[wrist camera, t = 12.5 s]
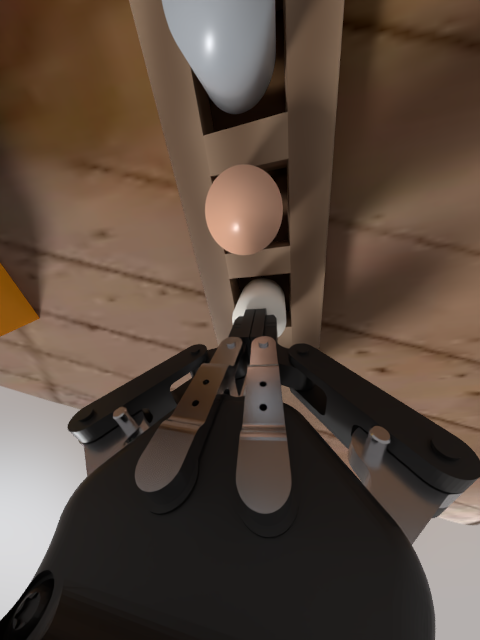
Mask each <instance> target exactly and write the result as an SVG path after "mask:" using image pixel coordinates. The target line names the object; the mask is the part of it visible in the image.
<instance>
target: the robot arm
mask: <svg viewBox="0 0 480 640" xmlns="http://www.w3.org/2000/svg"><path fill="white" fill-rule="evenodd" d="M189 372H190V373H191V376H192V378H191V379H190V380H188V381H187V382H185V383H184V384H182V385H181V386H179V387H178V388H177V389H175V390H173V391H171V392H170V387H171V385H172V384H173V383H174V382H175V381H177V380H179V379H180V378H182V377H183V376H185V375H186V374H188V373H189ZM281 385H284V386H287V387H290V391H291V392H292V393H293V394H294V395H295V396H296V397H297V398H298V399H299V400H300V401H301V402H302V403H303V404H304V405H305V406H306V407H307V408H308V409H309V410H310V411H311V412H312V413H313V414H314V415H315V416H316V417H317V418H318V419H319V420H320V421H321V422H322V423H323V424H324V425H325V426H326V427H327V428H328V429H329V430H330V431H331V432H332V433H333V434H334V435H335V436H336V437H337V438H338V439H339V440H340V441H341V442H342V443H343V444H344V445H345V446H346V447H347V448H348V449H349V450H348V460H349V463H350V465H351V467H352V469H353V470H354V472H355V473H356V474H357V476H358V477H359V478H360V480H361V481H360V480H359V479H358V478H357V477H356V476H355V474H354V473H353V472H352V471H351V470H350V469H349V468H348V467H347V465H346V464H345V463H344V462H343V461H342V460H341V459H340V457H339V456H338V455H337V454H336V453H335V452H334V451H333V449H332V448H331V447H330V446H329V445H328V444H327V443H326V441H325V440H324V439H323V438H322V437H321V436H320V435H319V433H318V432H317V431H316V430H315V429H314V428H313V427H312V425H311V424H310V423H309V422H308V421H307V420H306V419H305V418H304V416H303V415H302V414H301V413H299V412H298V411H297V410H296V409H294V408H293V407H291V406H289V405H288V404H285V403H283V401H282V392H281ZM245 387H246V390H245ZM244 390H245V396H243V394H244ZM68 430H69V431H70V432H71V433H72V434H73V435H74V436H75V437H76V438H77V439H78V440H79V442H80V444H82V445H83V446H84V451H85V459H86V469H87V478H86V479H85V480H84V481H83V482H82V483H81V484H80V485H79V487H78V488H77V489H76V490H75V492H74V493H73V495H72V496H71V498H70V499H69V501H68V503H67V505H66V506H65V508H64V510H63V513H62V515H61V517H60V520H59V523H58V525H57V528H56V531H55V534H54V536H53V539H52V541H51V544H50V546H49V548H48V550H47V553H46V555H45V557H44V559H43V561H42V563H41V565H40V567H39V568H38V571H37V572H36V574H35V576H34V578H33V580H32V582H31V583H30V584H29V586H28V587H27V589H26V590H25V592H24V593H23V594H22V596H21V597H20V599H19V600H18V601H17V602H16V604H15V605H14V606H13V608H12V609H11V610H10V611H9V612H8V613H7V614H6V615H5V616H4V617H3V619H2V620H1V621H0V640H435V614H434V606H433V600H432V596H431V592H430V588H429V584H428V581H427V578H426V575H425V573H424V570H423V568H422V565H421V563H420V561H419V559H418V556H417V554H416V552H415V551H414V549H413V547H412V544H413V542H414V541H415V540H416V539H417V537H418V536H419V534H420V533H421V532H422V530H423V529H424V528H425V526H426V525H427V523H428V522H429V521H430V519H431V518H435V517H437V516H439V515H440V514H441V513H442V512H443V511H444V510H445V509H446V508H447V507H448V506H449V505H450V504H452V503H453V502H454V501H455V500H456V499H457V498H458V497H459V496H460V495H461V494H462V493H463V492H464V491H465V490H466V489H467V488H468V487H470V486H471V485H472V484H473V483H474V482H475V481H476V480H477V479H478V478H479V477H480V460H479V458H478V456H477V455H476V454H475V452H474V451H473V450H472V449H471V448H470V447H469V446H468V445H467V444H466V443H464V442H463V441H462V440H461V439H459V438H458V437H456V436H455V435H453V434H451V433H450V432H448V431H447V430H445V429H443V428H442V427H440V426H439V425H437V424H435V423H434V422H432V421H431V420H429V419H428V418H426V417H424V416H423V415H421V414H420V413H418V412H416V411H415V410H413V409H412V408H410V407H408V406H407V405H405V404H404V403H402V402H400V401H399V400H397V399H396V398H394V397H392V396H391V395H389V394H388V393H386V392H385V391H383V390H381V389H380V388H378V387H377V386H375V385H373V384H372V383H370V382H369V381H367V380H365V379H364V378H362V377H361V376H359V375H357V374H356V373H354V372H353V371H351V370H349V369H348V368H346V367H345V366H343V365H342V364H340V363H338V362H337V361H335V360H334V359H332V358H330V357H329V356H327V355H326V354H324V353H322V352H321V351H319V350H318V349H316V348H314V347H313V346H311V345H309V344H305V343H298V344H294V345H292V346H291V347H290V348H285V347H282V346H281V345H279V344H278V333H277V318H276V317H275V316H274V315H267V310H266V308H263V309H246V310H245V313H244V316H239V317H238V318H237V319H235V321H234V323H233V326H232V329H231V331H230V334H229V337H228V338H226V339H224V340H223V341H222V342H221V343H220V345H219V346H218V348H215V349H211V350H207V348H206V346H205V345H202V344H197V345H193V346H191V347H189V348H187V349H185V350H184V351H182V352H180V353H178V354H177V355H175V356H173V357H171V358H170V359H168V360H166V361H164V362H163V363H161V364H159V365H157V366H156V367H154V368H152V369H150V370H149V371H147V372H145V373H143V374H142V375H140V376H138V377H136V378H135V379H133V380H131V381H129V382H128V383H126V384H124V385H122V386H121V387H119V388H117V389H115V390H114V391H112V392H110V393H108V394H107V395H105V396H103V397H101V398H100V399H98V400H96V401H94V402H93V403H91V404H89V405H87V406H86V407H84V408H82V409H81V410H80V411H78V412H77V413H76V414H75V415H74V416H73V417H72V419H71V420H70V422H69V424H68Z"/></svg>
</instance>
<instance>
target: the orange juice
mask: <svg viewBox="0 0 480 640" xmlns="http://www.w3.org/2000/svg"><path fill="white" fill-rule="evenodd" d="M37 319H39V316H38V315H37V314H36V312H35V311H34V309H33V308H32V307H31V305H30V304H29V302H28V301H27V300H26V298H25V297H24V295H23V294H22V293H21V291H20V290H19V288H18V287H17V286H16V284H15V283H14V281H13V280H12V278H11V277H10V276H9V274H8V273H7V271H6V270H5V269H4V267H3V266H2V264H1V263H0V336H2V335H5V334H7V333H9V332H11V331H13V330H15V329H18V328H20V327H22V326H24V325H26V324H28V323H31V322H33V321H35V320H37Z"/></svg>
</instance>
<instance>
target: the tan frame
mask: <svg viewBox="0 0 480 640" xmlns="http://www.w3.org/2000/svg"><path fill="white" fill-rule="evenodd" d="M129 2H130V6H131V10H132V14H133V18H134V21H135V25H136V29H137V33H138V37H139V41H140V45H141V49H142V52H143V56H144V60H145V64H146V68H147V72H148V76H149V79H150V83H151V87H152V91H153V95H154V99H155V103H156V107H157V110H158V114H159V118H160V122H161V126H162V130H163V134H164V137H165V141H166V145H167V149H168V153H169V157H170V161H171V165H172V168H173V172H174V176H175V180H176V184H177V188H178V192H179V195H180V199H181V203H182V207H183V211H184V215H185V219H186V223H187V226H188V230H189V234H190V238H191V242H192V246H193V250H194V253H195V257H196V261H197V265H198V269H199V273H200V277H201V281H202V284H203V288H204V292H205V296H206V300H207V304H208V308H209V311H210V315H211V319H212V323H213V327H214V331H215V335H216V339H217V342H218V346H219V345H220V343H221V342H222V341H223V340H224V339H226V338H228V337H229V334H230V331H231V329H232V326H233V323H232V315H233V311H234V309H235V307H236V304H237V302H238V300H239V298H240V290H239V284H238V278H243V277H254V276H264V275H275V274H285V273H289V291H290V312H286V327H285V329H284V331H283V333H282V334H281V335H280V336H279V337H278V344H279V345H281V346H282V347H285V348H290V347H291V346H292V345H294V344H298V343H305V344H309V345H311V346H313V347H314V348H319V347H320V333H321V319H322V305H323V291H324V277H325V263H326V249H327V235H328V222H329V208H330V194H331V180H332V166H333V152H334V138H335V124H336V110H337V96H338V82H339V68H340V54H341V40H342V26H343V12H344V0H275V12H276V11H279V10H281V9H283V25H284V69H285V113H281V114H278V115H274V116H271V117H267V118H264V119H260V120H257V121H253V122H249V123H246V124H242V125H239V126H235V127H232V128H228V129H225V130H221V131H218V132H214V128H213V122H212V116H211V110H210V103H209V97H208V94H207V92H206V90H205V89H204V87H203V86H202V84H201V82H200V81H199V79H198V78H197V76H196V74H195V73H194V71H193V69H192V68H191V66H190V65H189V63H188V61H187V60H186V58H185V57H184V55H183V53H182V52H181V50H180V49H179V47H178V45H177V44H176V42H175V40H174V38H173V36H172V33H171V31H170V29H169V26H168V23H167V20H166V17H165V13H164V9H163V5H162V0H129ZM241 164H247V165H253V166H256V167H258V168H260V169H262V170H264V171H265V172H268V171H273V170H277V169H282V168H286V167H287V202H288V240H285V241H278V242H271V243H270V244H269V245H268V246H267V247H266V248H264V249H263V250H261V251H259V252H257V253H254V254H251V255H237V254H233V253H230V252H228V251H226V250H225V249H223V248H222V247H221V246H220V245H219V244H218V243H217V242H216V241H215V240H214V238H213V237H212V235H211V233H210V231H209V229H208V226H207V222H206V217H205V203H206V198H207V194H208V191H209V189H210V187H211V185H212V183H213V182H214V180H215V179H216V178H217V177H218V176H219V175H220V174H221V173H222V172H223V171H225V170H226V169H228V168H230V167H233V166H236V165H241Z"/></svg>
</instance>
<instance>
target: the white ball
mask: <svg viewBox="0 0 480 640" xmlns="http://www.w3.org/2000/svg"><path fill="white" fill-rule="evenodd" d="M263 308H266V310H267V315H274V316H275V317H276V318H277V333H278V337H279V336H280V335H281V334H282V333H283V331H284V329H285V327H286V308H285V295H284V292H283V289H282V288H281V286H280V285H279V284H278V283H276V282H275V281H273V280H271V279H267V278H258V279H255V280H252V281H250V282H249V283H248V284H247V285H246V286H245V287H244V289H243V291H242V293H241V295H240V298H239V300H238V302H237V304H236V307H235V309H234V311H233V315H232V323H234V321H235V319H237V318H238V317H239V316H244V313H245V310H246V309H263Z"/></svg>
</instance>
